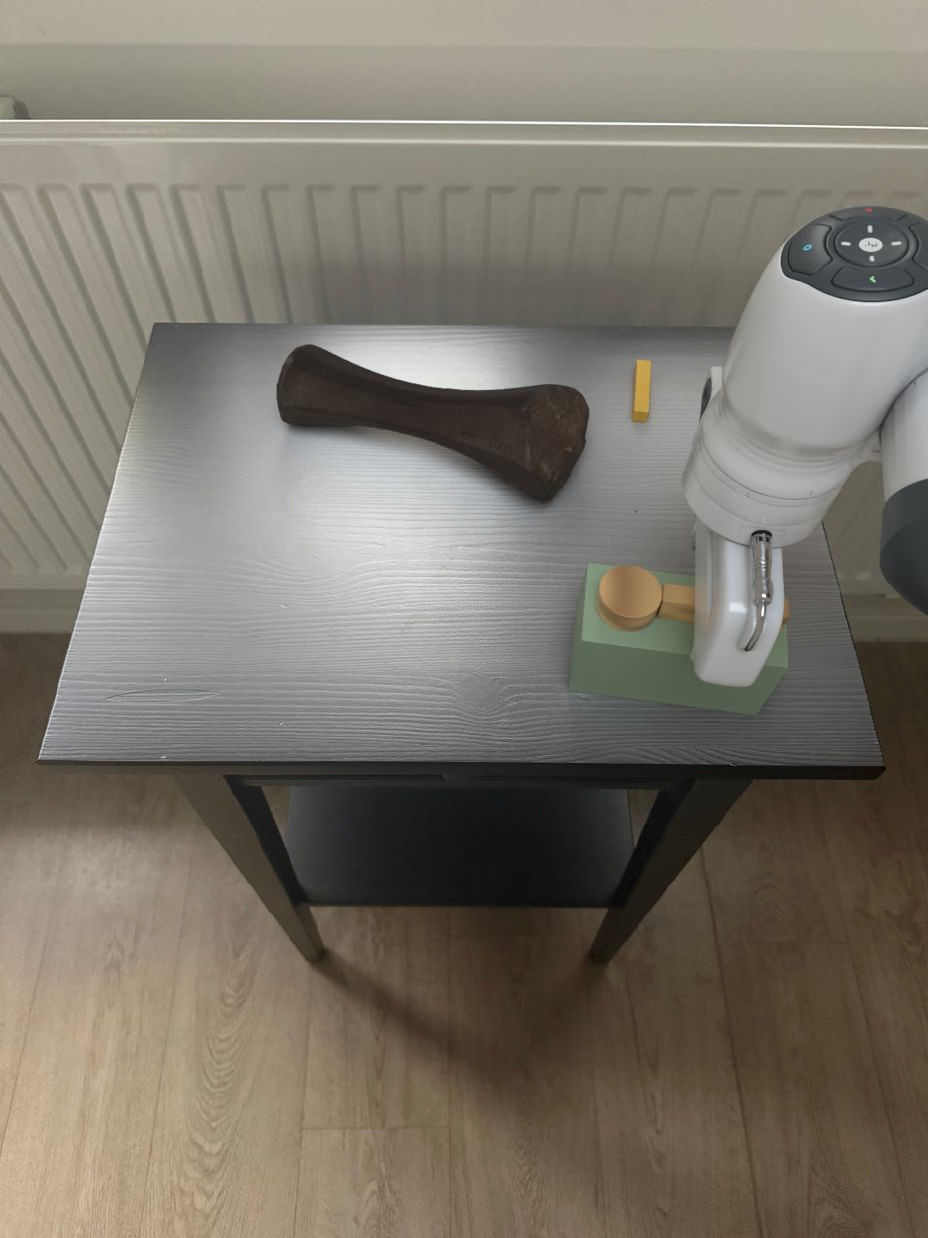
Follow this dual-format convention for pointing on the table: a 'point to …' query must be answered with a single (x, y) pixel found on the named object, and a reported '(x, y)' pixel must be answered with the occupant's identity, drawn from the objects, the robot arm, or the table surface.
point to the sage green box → (656, 658)
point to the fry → (641, 391)
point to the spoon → (645, 600)
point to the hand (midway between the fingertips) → (702, 597)
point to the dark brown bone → (445, 416)
